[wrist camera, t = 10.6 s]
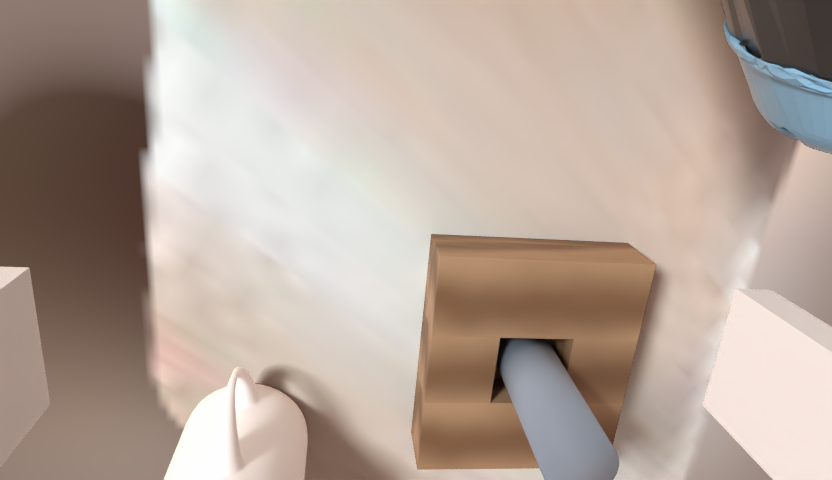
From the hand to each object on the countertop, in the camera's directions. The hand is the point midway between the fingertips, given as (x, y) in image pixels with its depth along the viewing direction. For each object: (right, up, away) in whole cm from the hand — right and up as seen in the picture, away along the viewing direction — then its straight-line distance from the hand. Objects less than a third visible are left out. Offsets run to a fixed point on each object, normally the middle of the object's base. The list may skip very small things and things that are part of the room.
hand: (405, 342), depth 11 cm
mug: (-12, -10, +31) cm, 35 cm away
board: (+7, -5, +31) cm, 33 cm away
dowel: (+8, -6, +30) cm, 32 cm away
